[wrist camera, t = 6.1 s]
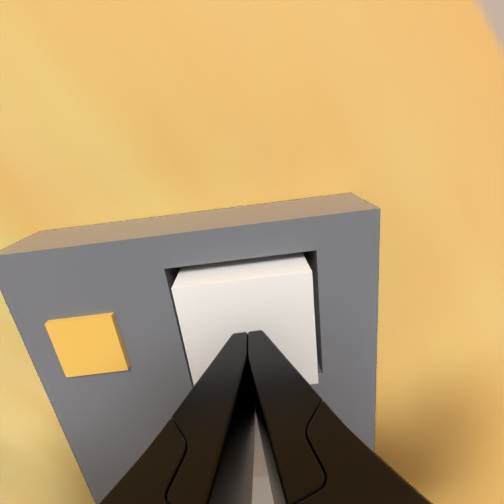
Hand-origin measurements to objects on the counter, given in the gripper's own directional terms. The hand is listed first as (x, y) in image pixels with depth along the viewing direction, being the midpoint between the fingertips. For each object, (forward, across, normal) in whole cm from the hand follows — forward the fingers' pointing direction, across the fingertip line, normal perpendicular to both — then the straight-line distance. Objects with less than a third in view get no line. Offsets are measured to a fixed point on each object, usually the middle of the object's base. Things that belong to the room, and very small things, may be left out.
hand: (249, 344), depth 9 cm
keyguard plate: (+4, +2, +6) cm, 7 cm away
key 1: (+3, 0, 0) cm, 3 cm away
